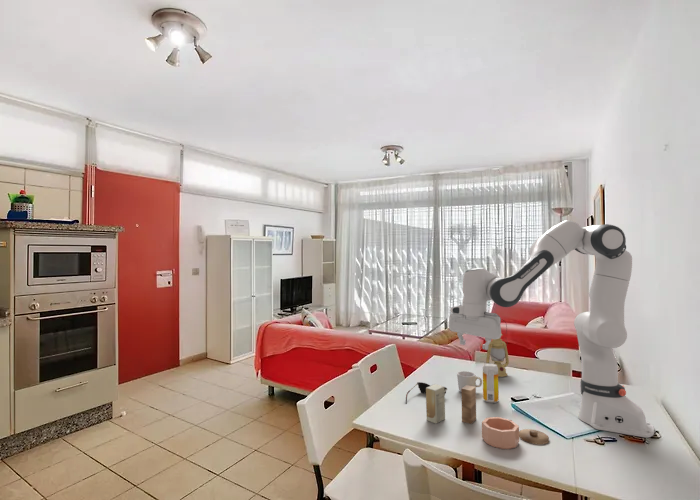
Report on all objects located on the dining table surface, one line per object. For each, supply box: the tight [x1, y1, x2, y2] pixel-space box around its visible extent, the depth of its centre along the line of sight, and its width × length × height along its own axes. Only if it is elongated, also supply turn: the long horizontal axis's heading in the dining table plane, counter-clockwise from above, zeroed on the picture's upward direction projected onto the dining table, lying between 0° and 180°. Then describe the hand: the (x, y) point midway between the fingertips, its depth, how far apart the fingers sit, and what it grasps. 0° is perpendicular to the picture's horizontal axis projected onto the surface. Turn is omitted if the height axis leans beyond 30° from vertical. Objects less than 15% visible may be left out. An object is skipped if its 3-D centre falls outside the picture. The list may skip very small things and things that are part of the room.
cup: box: [456, 370, 483, 392], centre depth 169 cm, size 11×8×8 cm
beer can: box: [482, 362, 500, 404], centre depth 158 cm, size 6×6×15 cm
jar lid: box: [519, 428, 550, 445], centre depth 126 cm, size 9×9×2 cm
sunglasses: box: [405, 382, 448, 405], centre depth 159 cm, size 14×16×5 cm
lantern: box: [485, 318, 510, 378], centre depth 194 cm, size 12×10×30 cm
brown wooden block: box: [460, 385, 477, 425], centre depth 140 cm, size 4×5×12 cm
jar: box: [481, 416, 520, 450], centre depth 124 cm, size 11×11×6 cm
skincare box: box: [425, 383, 446, 425], centre depth 140 cm, size 6×4×12 cm
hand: (473, 346), depth 143 cm, fingers open, 8 cm apart
